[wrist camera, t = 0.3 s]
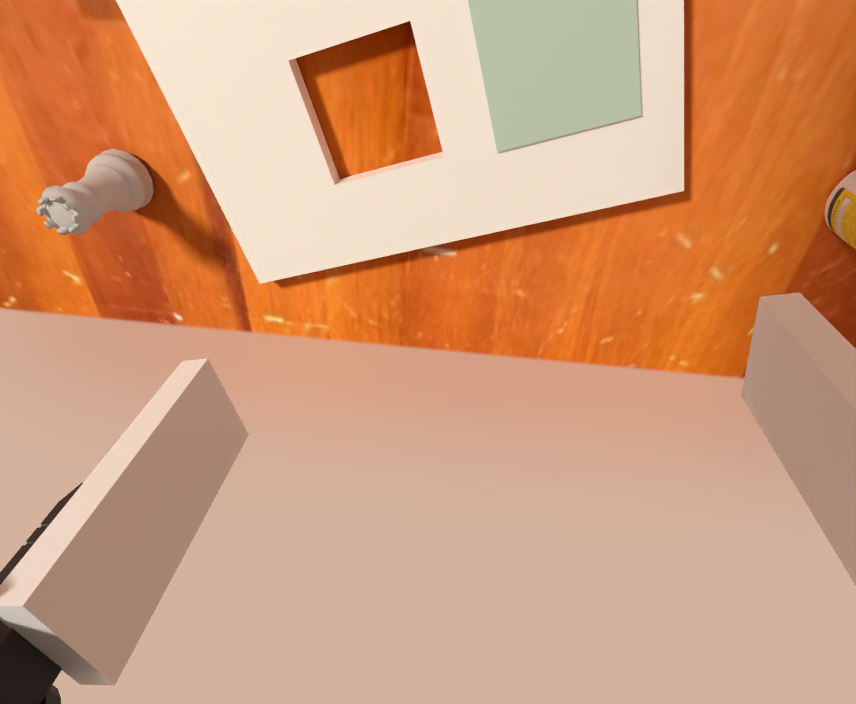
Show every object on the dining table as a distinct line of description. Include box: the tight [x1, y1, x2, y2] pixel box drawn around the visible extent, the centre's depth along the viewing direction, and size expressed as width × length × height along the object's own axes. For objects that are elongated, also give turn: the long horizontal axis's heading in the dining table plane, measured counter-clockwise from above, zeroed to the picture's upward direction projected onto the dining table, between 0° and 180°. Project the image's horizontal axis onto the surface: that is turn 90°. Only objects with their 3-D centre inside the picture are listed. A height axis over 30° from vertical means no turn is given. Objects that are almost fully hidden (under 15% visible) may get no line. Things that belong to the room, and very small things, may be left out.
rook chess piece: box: [36, 149, 154, 235], centre depth 36 cm, size 4×4×8 cm
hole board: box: [116, 0, 684, 284], centre depth 33 cm, size 20×32×2 cm, turn 106°
